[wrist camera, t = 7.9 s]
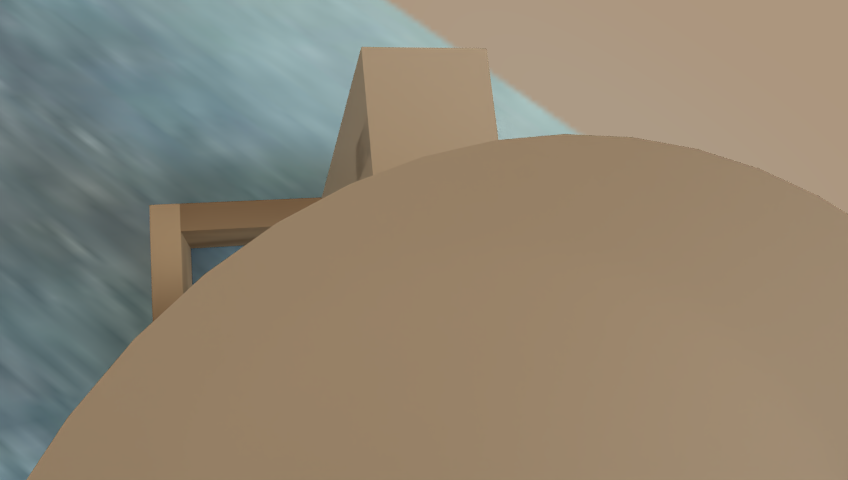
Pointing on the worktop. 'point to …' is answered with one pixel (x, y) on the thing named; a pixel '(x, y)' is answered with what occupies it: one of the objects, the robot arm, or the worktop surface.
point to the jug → (493, 315)
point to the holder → (204, 237)
